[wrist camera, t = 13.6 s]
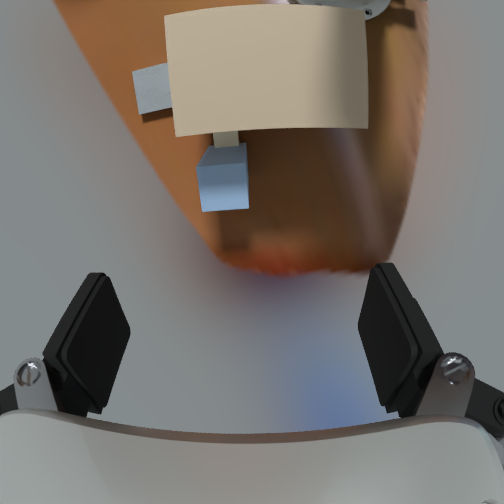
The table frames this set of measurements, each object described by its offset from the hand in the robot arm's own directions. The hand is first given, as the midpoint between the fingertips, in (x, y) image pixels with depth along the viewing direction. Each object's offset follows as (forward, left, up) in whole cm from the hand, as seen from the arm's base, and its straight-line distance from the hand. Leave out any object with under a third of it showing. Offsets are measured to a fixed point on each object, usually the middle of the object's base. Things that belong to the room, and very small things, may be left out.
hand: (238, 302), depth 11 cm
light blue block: (+2, -3, -25) cm, 25 cm away
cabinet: (-2, -8, -25) cm, 26 cm away
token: (+9, -8, -25) cm, 28 cm away
